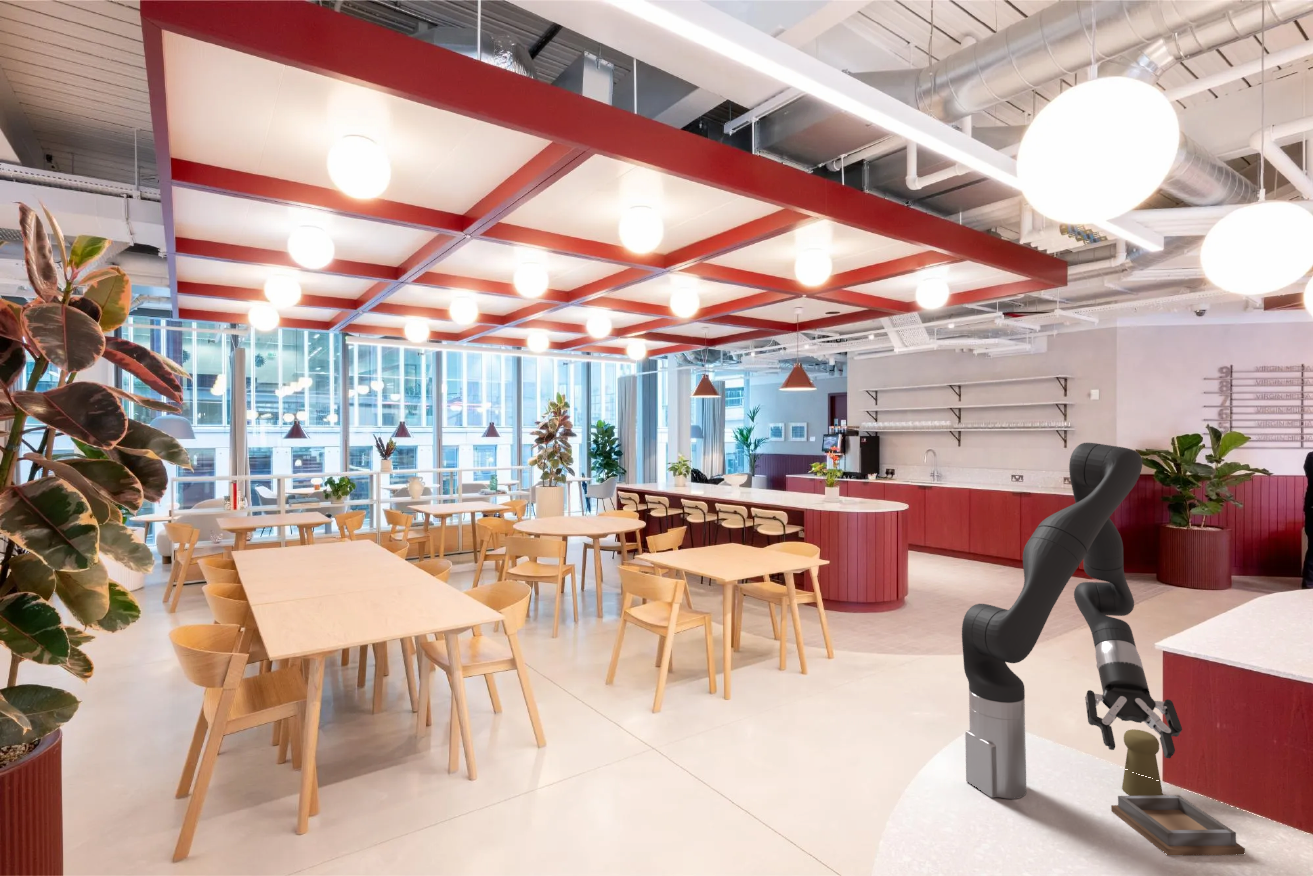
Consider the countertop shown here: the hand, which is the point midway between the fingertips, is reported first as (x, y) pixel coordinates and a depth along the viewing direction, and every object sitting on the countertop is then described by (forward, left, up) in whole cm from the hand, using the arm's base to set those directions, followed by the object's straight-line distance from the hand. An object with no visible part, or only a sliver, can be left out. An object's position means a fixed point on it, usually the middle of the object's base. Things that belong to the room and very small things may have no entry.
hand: (1140, 752), depth 116 cm
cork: (0, -1, -7) cm, 7 cm away
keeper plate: (-7, -11, -7) cm, 15 cm away
